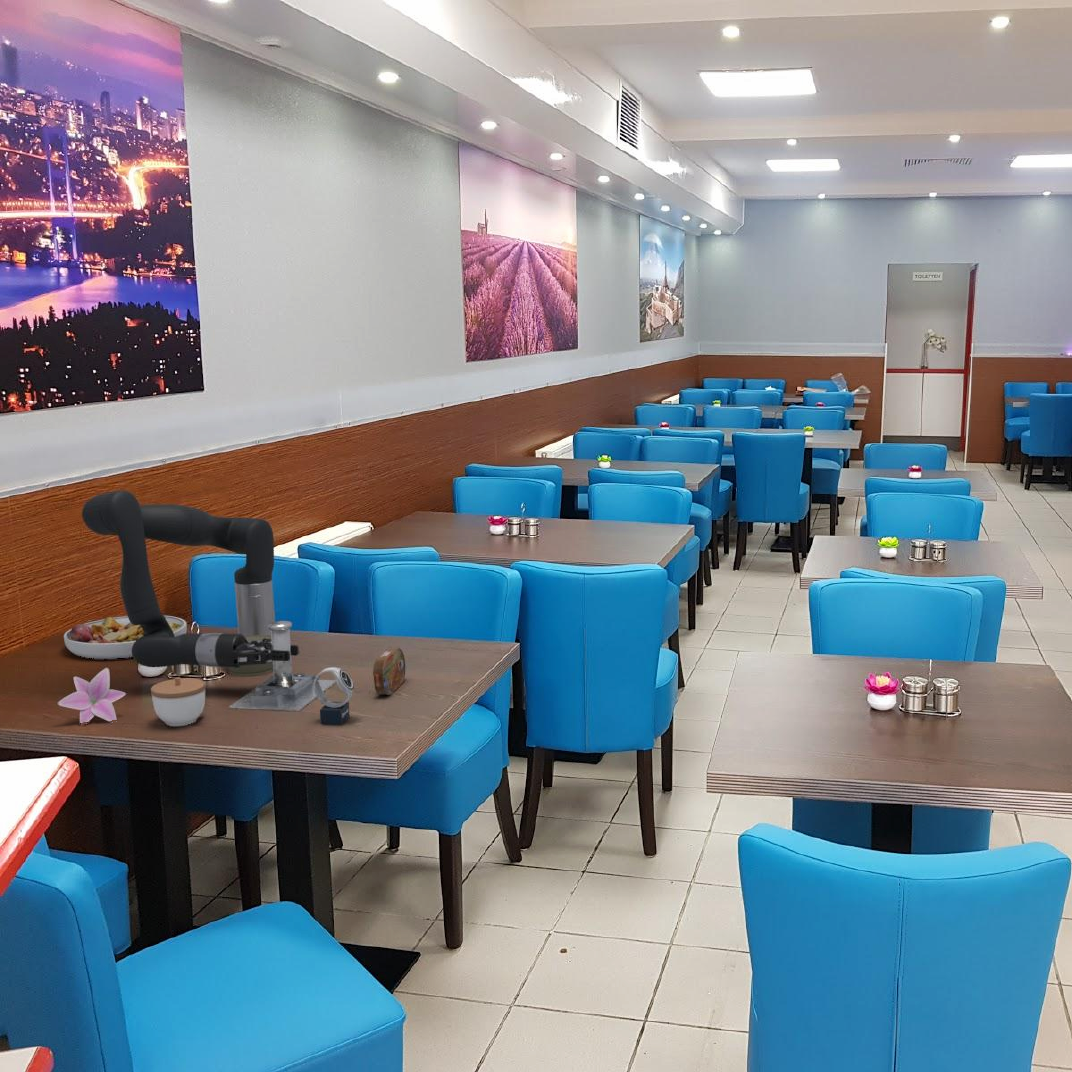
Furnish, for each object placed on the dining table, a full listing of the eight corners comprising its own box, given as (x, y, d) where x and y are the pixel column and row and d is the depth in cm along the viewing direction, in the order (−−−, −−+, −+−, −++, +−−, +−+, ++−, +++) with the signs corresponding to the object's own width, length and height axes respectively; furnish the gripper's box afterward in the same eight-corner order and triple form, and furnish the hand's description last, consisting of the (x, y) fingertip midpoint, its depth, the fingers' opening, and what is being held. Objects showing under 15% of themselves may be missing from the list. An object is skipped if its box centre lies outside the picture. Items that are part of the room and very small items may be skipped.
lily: (52, 730, 242) (54, 697, 237) (76, 693, 252) (78, 660, 247) (109, 745, 243) (112, 712, 238) (131, 707, 253) (134, 675, 247)
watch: (350, 725, 237) (347, 672, 235) (312, 724, 238) (309, 672, 236) (358, 716, 242) (355, 665, 240) (321, 715, 243) (318, 664, 241)
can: (284, 662, 285) (283, 634, 284) (272, 676, 273) (270, 647, 272) (235, 663, 285) (233, 635, 284) (221, 677, 273) (219, 648, 272)
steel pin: (278, 686, 261) (274, 620, 258) (299, 687, 260) (295, 621, 257) (268, 692, 256) (264, 626, 254) (289, 694, 255) (285, 626, 252)
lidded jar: (175, 733, 235) (171, 688, 233) (143, 724, 241) (139, 680, 239) (218, 719, 243) (215, 675, 241) (186, 710, 249) (183, 667, 248)
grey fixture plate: (271, 679, 270) (270, 665, 269) (336, 682, 267) (335, 667, 266) (229, 708, 250) (228, 692, 249) (299, 711, 246) (298, 695, 246)
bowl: (161, 626, 324) (159, 599, 323) (206, 647, 302) (204, 617, 300) (49, 647, 306) (46, 618, 305) (89, 670, 283) (86, 639, 282)
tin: (386, 700, 253) (384, 662, 251) (372, 699, 253) (370, 661, 252) (407, 679, 267) (405, 644, 266) (394, 679, 268) (392, 643, 266)
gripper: (204, 642, 252) (278, 644, 248) (235, 625, 266) (305, 628, 262) (207, 675, 253) (281, 679, 250) (237, 657, 267) (307, 660, 263)
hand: (293, 653), depth 256 cm, fingers closed on steel pin, 4 cm apart
